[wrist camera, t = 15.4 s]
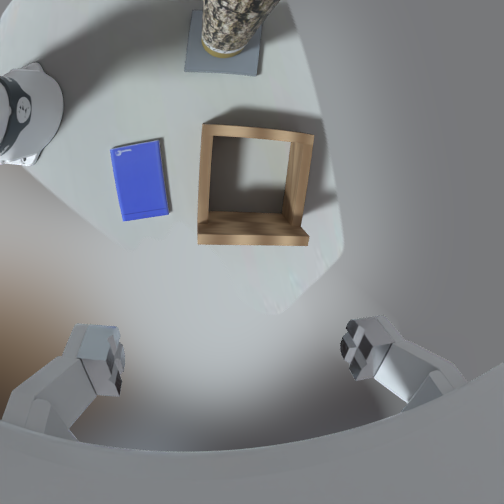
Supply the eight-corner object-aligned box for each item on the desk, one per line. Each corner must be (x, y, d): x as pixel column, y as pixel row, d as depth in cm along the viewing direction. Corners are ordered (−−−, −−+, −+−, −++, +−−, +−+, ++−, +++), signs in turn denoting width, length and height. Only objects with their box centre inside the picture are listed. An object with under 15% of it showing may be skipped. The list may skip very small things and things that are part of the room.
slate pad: (184, 71, 37) (184, 70, 36) (192, 12, 32) (192, 10, 31) (255, 76, 39) (256, 75, 38) (262, 17, 34) (263, 15, 33)
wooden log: (228, 14, 32) (261, -72, 10) (254, 44, 35) (315, -21, 13) (192, 37, 33) (187, -42, 11) (219, 67, 36) (244, 11, 14)
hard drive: (109, 149, 39) (122, 221, 45) (158, 140, 40) (168, 214, 46) (112, 148, 40) (124, 218, 46) (159, 139, 41) (169, 211, 47)
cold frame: (197, 219, 48) (197, 244, 39) (202, 123, 41) (203, 125, 32) (288, 221, 51) (307, 245, 42) (300, 132, 44) (325, 137, 35)
